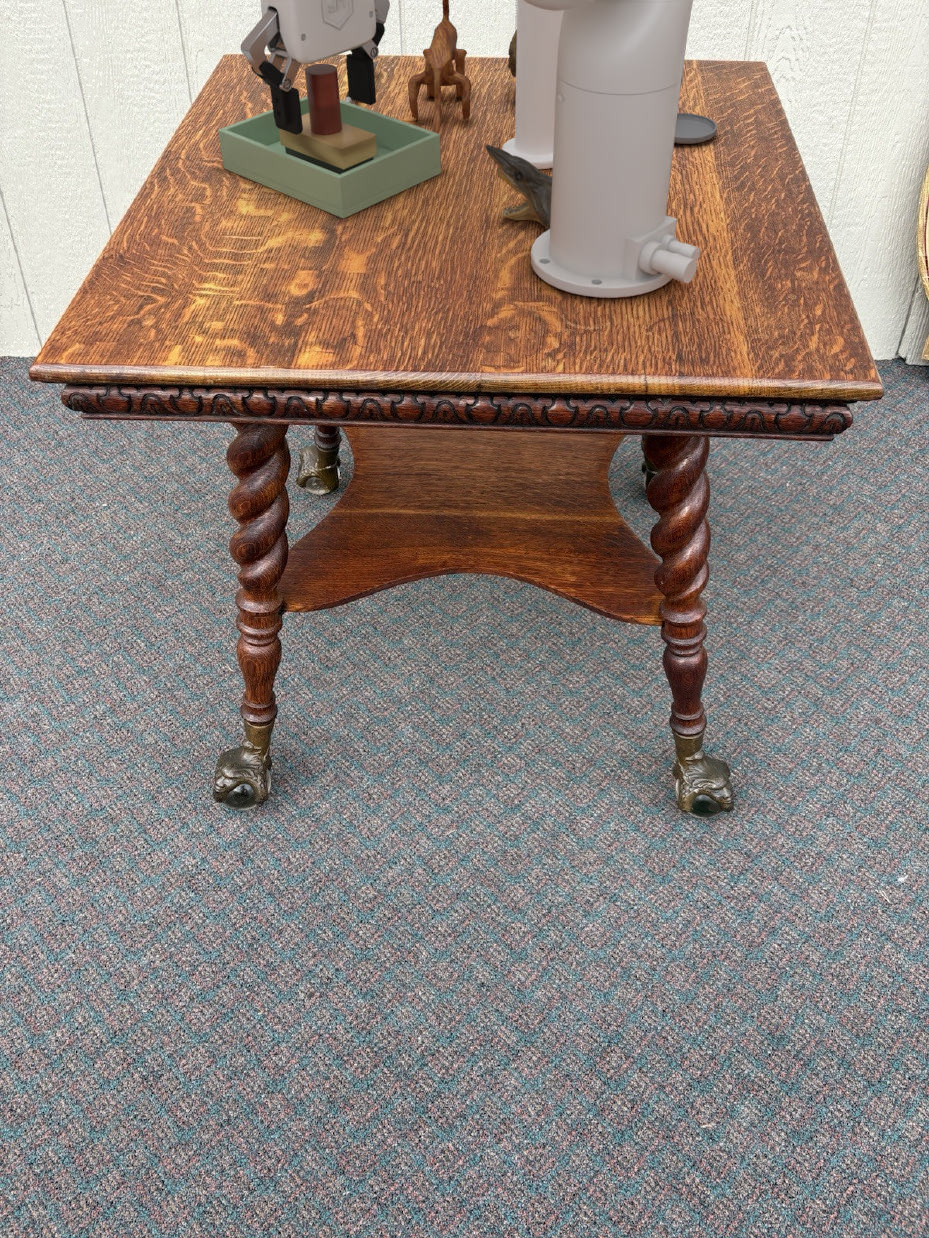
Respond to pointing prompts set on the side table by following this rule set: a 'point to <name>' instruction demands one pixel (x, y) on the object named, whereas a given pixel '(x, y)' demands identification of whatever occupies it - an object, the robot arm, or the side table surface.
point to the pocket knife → (348, 91)
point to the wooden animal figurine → (442, 70)
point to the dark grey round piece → (693, 128)
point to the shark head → (524, 187)
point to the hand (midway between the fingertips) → (326, 115)
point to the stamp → (328, 127)
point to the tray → (394, 169)
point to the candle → (535, 84)
